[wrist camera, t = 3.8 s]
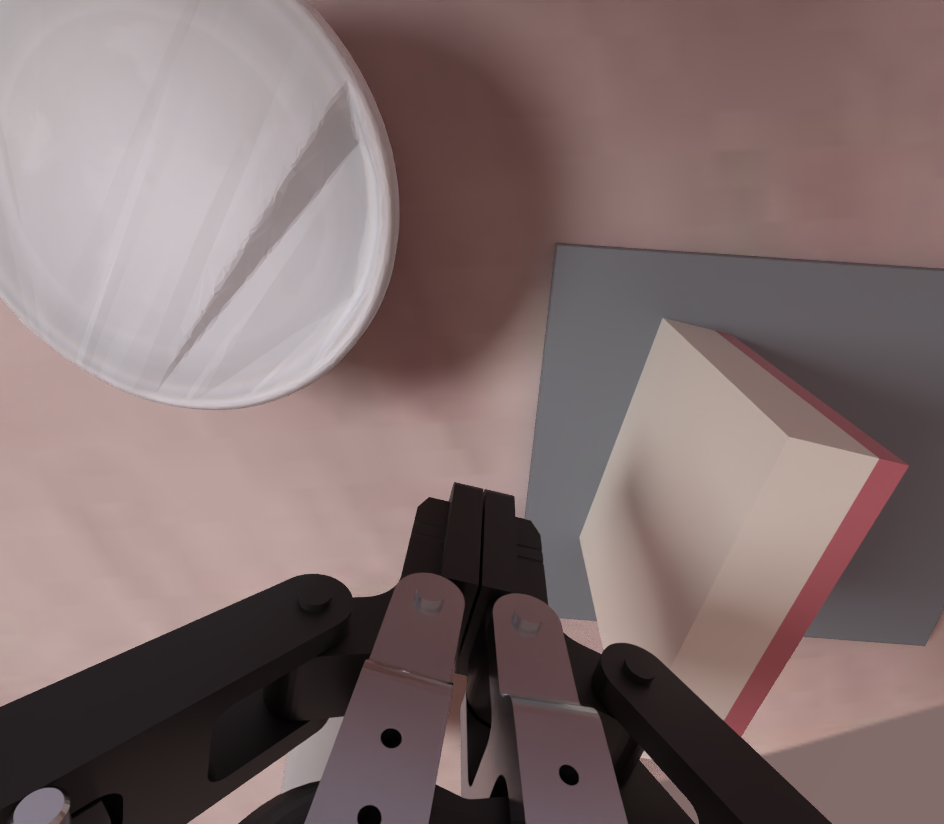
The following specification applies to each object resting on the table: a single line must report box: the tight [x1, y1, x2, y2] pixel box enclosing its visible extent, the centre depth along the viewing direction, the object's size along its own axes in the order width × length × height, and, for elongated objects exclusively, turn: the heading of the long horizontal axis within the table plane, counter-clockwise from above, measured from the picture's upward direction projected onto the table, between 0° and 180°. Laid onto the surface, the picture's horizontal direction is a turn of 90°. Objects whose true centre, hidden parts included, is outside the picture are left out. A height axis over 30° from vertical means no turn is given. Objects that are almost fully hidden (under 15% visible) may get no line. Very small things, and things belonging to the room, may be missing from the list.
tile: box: [579, 318, 909, 760], centre depth 17 cm, size 2×9×9 cm, turn 167°
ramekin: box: [0, 0, 399, 410], centre depth 16 cm, size 11×11×5 cm
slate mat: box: [525, 243, 944, 646], centre depth 21 cm, size 15×17×1 cm
